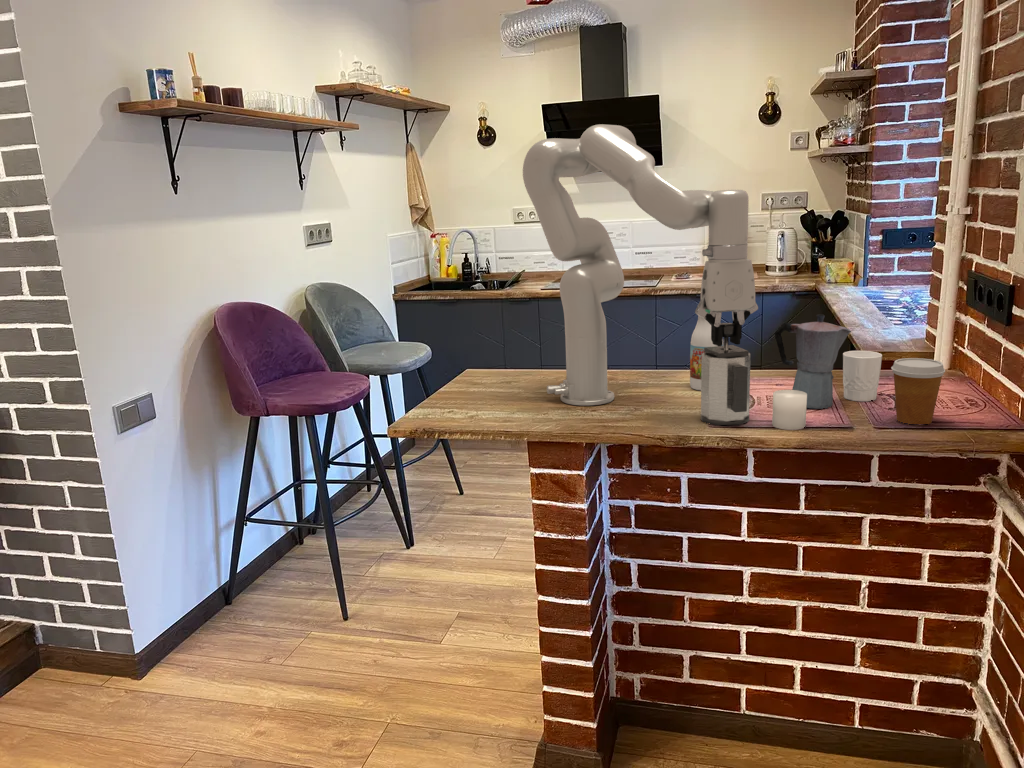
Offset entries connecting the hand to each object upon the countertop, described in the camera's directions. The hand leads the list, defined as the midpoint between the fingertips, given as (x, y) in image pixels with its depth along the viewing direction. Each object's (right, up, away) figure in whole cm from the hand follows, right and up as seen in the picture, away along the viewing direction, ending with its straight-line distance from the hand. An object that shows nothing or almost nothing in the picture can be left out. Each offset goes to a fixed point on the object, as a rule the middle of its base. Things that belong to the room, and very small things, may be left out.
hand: (726, 343), depth 163 cm
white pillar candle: (+12, -17, -2) cm, 21 cm away
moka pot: (+21, -13, +12) cm, 28 cm away
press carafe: (+1, -16, +3) cm, 16 cm away
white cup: (+34, -12, +15) cm, 39 cm away
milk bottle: (+3, -9, +30) cm, 32 cm away
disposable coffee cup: (+37, -16, -3) cm, 40 cm away
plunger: (0, -9, +2) cm, 10 cm away
